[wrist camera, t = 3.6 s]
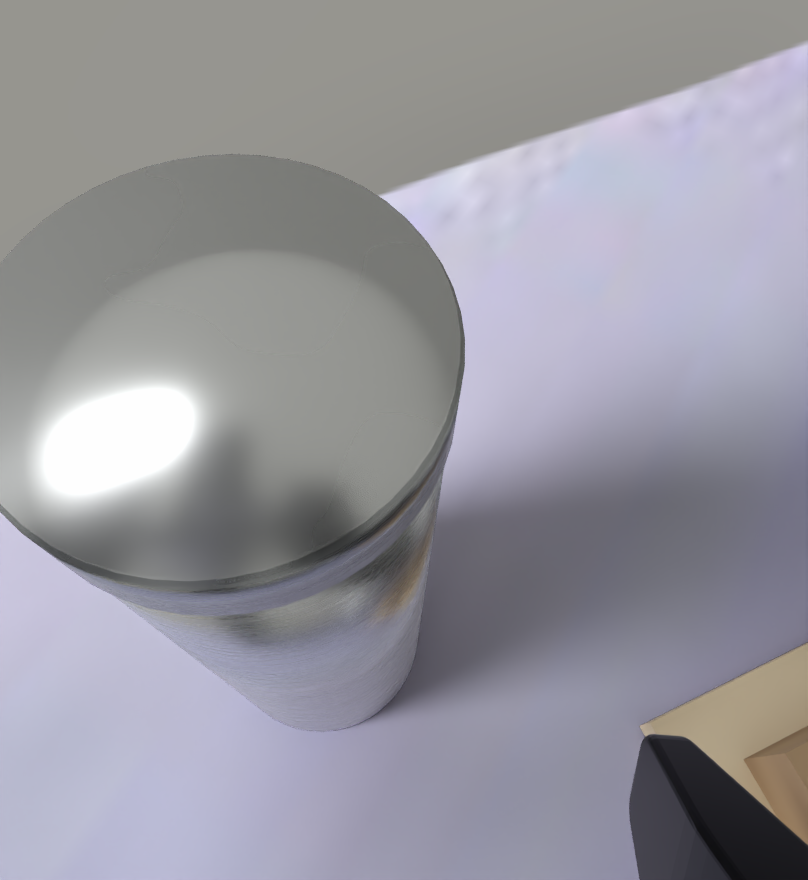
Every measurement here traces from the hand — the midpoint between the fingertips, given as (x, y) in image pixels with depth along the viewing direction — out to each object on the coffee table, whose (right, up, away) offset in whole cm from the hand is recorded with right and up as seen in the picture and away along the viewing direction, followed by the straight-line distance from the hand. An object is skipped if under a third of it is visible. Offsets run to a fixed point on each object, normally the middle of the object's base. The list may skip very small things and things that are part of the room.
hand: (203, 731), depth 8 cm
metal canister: (0, -2, +11) cm, 11 cm away
